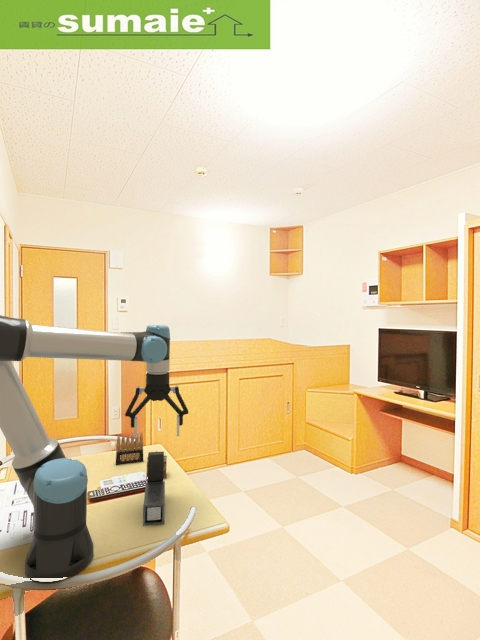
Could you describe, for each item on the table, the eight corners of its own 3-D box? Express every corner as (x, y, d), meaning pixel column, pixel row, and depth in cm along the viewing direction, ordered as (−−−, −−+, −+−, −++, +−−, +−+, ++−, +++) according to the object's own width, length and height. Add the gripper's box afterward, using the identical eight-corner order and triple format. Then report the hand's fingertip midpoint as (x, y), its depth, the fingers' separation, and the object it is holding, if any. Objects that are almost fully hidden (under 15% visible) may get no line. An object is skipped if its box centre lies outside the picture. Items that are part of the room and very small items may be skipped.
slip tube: (162, 519, 108) (163, 473, 108) (144, 520, 107) (145, 474, 107) (163, 484, 129) (164, 445, 129) (148, 485, 128) (149, 446, 128)
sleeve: (164, 523, 108) (164, 503, 107) (143, 525, 106) (143, 505, 106) (164, 499, 121) (164, 481, 121) (145, 500, 120) (146, 482, 120)
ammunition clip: (142, 460, 152) (143, 431, 151) (143, 461, 150) (144, 432, 150) (115, 463, 148) (116, 433, 147) (115, 465, 146) (116, 435, 146)
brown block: (166, 478, 136) (166, 461, 136) (146, 479, 135) (146, 462, 135) (166, 472, 141) (166, 455, 141) (147, 473, 140) (147, 456, 139)
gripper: (195, 369, 127) (194, 430, 128) (119, 370, 122) (119, 433, 123) (196, 373, 120) (195, 438, 121) (116, 374, 115) (116, 442, 116)
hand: (157, 436), depth 122 cm, fingers open, 13 cm apart
